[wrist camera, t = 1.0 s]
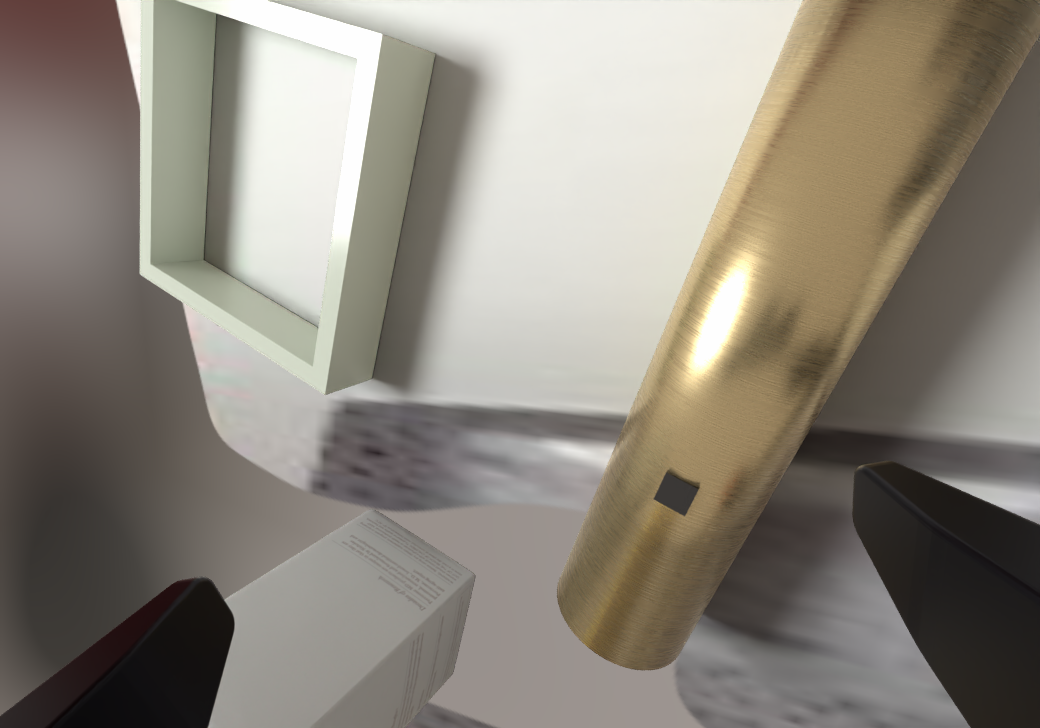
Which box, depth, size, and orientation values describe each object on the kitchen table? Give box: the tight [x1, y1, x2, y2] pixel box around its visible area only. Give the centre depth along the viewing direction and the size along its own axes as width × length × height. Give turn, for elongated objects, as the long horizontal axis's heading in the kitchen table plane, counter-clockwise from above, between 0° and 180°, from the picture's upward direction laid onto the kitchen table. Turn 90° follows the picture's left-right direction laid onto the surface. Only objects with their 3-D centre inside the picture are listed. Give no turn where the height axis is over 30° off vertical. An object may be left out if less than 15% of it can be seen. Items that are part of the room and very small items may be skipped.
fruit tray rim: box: [140, 0, 435, 395], centre depth 27 cm, size 15×15×3 cm
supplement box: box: [208, 509, 475, 728], centre depth 25 cm, size 7×7×13 cm
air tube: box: [557, 0, 1040, 670], centre depth 17 cm, size 22×5×5 cm, turn 162°
